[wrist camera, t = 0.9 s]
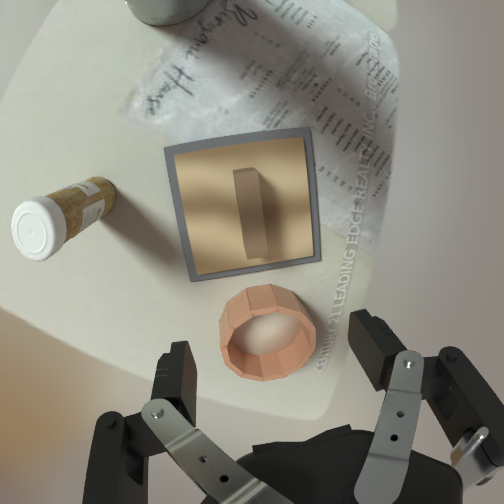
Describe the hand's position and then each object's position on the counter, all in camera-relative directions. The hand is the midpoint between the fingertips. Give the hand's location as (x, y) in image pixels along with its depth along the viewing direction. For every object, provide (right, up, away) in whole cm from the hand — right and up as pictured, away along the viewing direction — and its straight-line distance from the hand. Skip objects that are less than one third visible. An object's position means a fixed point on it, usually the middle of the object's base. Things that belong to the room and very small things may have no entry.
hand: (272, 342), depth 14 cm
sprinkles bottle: (-18, +10, +15) cm, 25 cm away
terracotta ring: (+1, -5, +22) cm, 23 cm away
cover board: (-1, +9, +17) cm, 19 cm away
